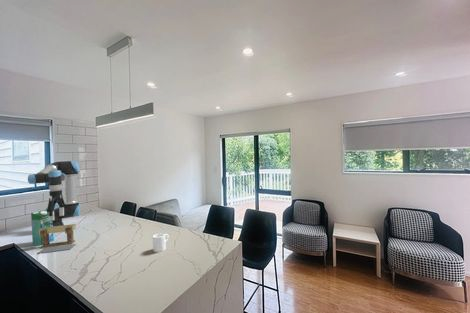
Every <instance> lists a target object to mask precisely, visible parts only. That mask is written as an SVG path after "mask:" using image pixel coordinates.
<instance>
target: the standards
mask: <svg viewBox="0 0 470 313" xmlns="http://www.w3.org/2000/svg"><path fill="white" fill-rule="evenodd" d="M74 231H75V230H73V231H70V227H69V228H65V232H64V233H65V234H66V241H60V242H50V241H49V234H46V230H42V231H40V236H42V244H43V245H40V248H41V249H44V248H49V247H57V246H64V245H72V244H75V242H76V240H74Z"/></svg>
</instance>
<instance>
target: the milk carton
mask: <svg viewBox="0 0 470 313" xmlns="http://www.w3.org/2000/svg"><path fill="white" fill-rule="evenodd" d="M30 215H31V233H32V234H31V235H32V245H34V246H43V244H42V236H40V235H39V229H41V228H44V227H53V220H51V221H49V212H47V211H45V210H44V209H43V210H39V211H34V212H30ZM49 241H50V243H52V242H53V241H55V238H54V233H49Z"/></svg>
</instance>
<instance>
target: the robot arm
mask: <svg viewBox="0 0 470 313" xmlns="http://www.w3.org/2000/svg"><path fill="white" fill-rule="evenodd" d="M79 164H80V163H79V162H78V161H76V160H66V161H54V162H52V163H49V164H47V165H45V166H44V167H43V169H41V170H40V171H38V172H37V173H31V174H29V175H27V182H28V184H29V185H30V184H31V185H33V184H34V185H35V184H48V188H49V189H48V190H49V194H48V195H49V199H48V204H47V207H46V208H45V210H44V211H47V212H49V221H51V220H53V226H62V225H65V224H64V222H63V219H68V218H74V217H79V216H80V214H81V211H82V204H81V203H80V202H79V201H78V193H77V176H78V175H79V173H81V171H80V170H81V169H80V168H81V167H80V165H79ZM63 181H64V183H65V184H64V185H65V186H64V187H65V191H64V192H65V200H64V195H63V184H62V182H63Z"/></svg>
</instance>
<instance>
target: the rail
mask: <svg viewBox="0 0 470 313" xmlns="http://www.w3.org/2000/svg"><path fill="white" fill-rule="evenodd" d="M69 227H70V231H73V230H74V231H75V230H76V224H74V223H73V224H64V225H62V226H53V227H44V228H41V229H39V235H40V231H42V230H46V234H49V233H53V234H55V233H65V228H69ZM74 231H73V232H74Z"/></svg>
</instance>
